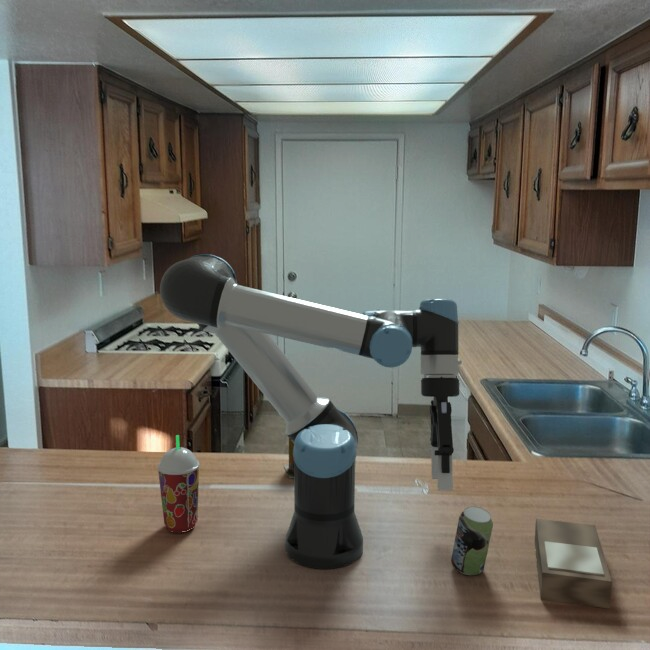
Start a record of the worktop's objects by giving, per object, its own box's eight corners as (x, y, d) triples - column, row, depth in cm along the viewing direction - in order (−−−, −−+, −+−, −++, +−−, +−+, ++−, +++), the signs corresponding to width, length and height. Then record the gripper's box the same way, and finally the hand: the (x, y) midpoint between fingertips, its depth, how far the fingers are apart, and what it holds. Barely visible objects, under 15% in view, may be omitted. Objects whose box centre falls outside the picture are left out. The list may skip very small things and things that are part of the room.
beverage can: (460, 557, 128) (463, 498, 126) (496, 570, 124) (499, 510, 121) (444, 571, 123) (446, 510, 121) (480, 585, 119) (484, 522, 116)
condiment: (311, 463, 173) (311, 419, 171) (318, 477, 165) (318, 430, 163) (283, 466, 171) (283, 421, 169) (289, 479, 163) (288, 432, 161)
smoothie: (209, 526, 140) (206, 435, 136) (176, 541, 134) (171, 446, 130) (185, 513, 145) (182, 425, 142) (152, 527, 139) (148, 435, 136)
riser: (540, 599, 115) (542, 570, 114) (534, 541, 134) (536, 517, 133) (609, 608, 112) (612, 579, 111) (593, 548, 131) (595, 523, 130)
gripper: (467, 377, 121) (469, 496, 120) (451, 376, 146) (453, 474, 145) (425, 377, 122) (427, 495, 120) (417, 376, 147) (418, 474, 145)
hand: (441, 484), depth 133 cm, fingers open, 13 cm apart
